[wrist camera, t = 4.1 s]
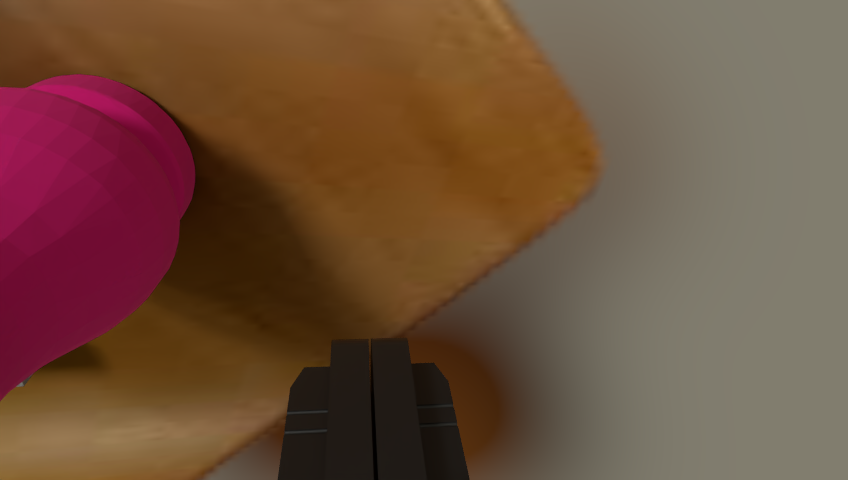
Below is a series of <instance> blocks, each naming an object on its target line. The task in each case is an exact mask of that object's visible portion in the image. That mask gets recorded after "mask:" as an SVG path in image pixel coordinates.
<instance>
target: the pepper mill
mask: <svg viewBox="0 0 848 480" xmlns="http://www.w3.org/2000/svg"><path fill="white" fill-rule="evenodd" d="M194 186H195V165H194V161H193V156H192V153H191V150H190V148H189V146H188V144H187V142H186V140H185V138H184V136H183V134H182V132H181V131H180V129H179V128H178V126H177V125H176V124H175V122H174V121H173V120H172V119H171V118H170V117H169V116H168V115H167V114H166V113H165V112H164V111H163V110H162V109H161V108H160V107H159V106H158V105H157V104H156V103H155V102H153V101H152V100H150V99H149V98H148V97H146V96H144V95H143V94H141V93H140V92H138V91H136V90H135V89H132V88H130V87H128V86H126V85H124V84H122V83H119V82H116V81H113V80H110V79H106V78H102V77H98V76H91V75H82V74H77V75H63V76H56V77H52V78H49V79H46V80H42V81H40V82H38V83H35V84H33V85H31V86H29V87H26V88H11V87H0V401H1V400H2V399H3V398H4V397H5V396H6V394H7V393H8V392H10V391H11V390H12V389H14V388H15V387H16V386H17V385H19V384H20V383H21V382H23V381H24V380H25V379H27V378H28V377H29V376H30V375H32V374H33V373H34V372H36V371H37V370H38V369H40V368H41V367H43V366H44V365H46V364H48V363H49V362H51V361H53V360H55V359H57V358H58V357H60V356H62V355H64V354H66V353H68V352H70V351H72V350H74V349H76V348H78V347H79V346H81V345H83V344H85V343H87V342H89V341H91V340H93V339H95V338H97V337H98V336H100V335H102V334H104V333H106V332H107V331H109V330H110V329H112V328H113V327H115V326H116V325H117V324H118V323H120V322H121V321H122V320H124V319H125V318H126V317H127V316H129V315H130V314H131V313H133V312H134V311H135V310H136V309H137V308H138V307H139V306H140V305H141V304H142V303H143V302H144V301H145V300H146V299H147V298H148V297H149V296H150V294H151V293H152V292H153V290H154V289H155V288H156V286H157V285H158V283H159V282H160V281H161V279H162V278H163V277H164V275H165V274H166V272H167V271H168V270H169V268H170V266H171V263H172V261H173V259H174V256H175V253H176V249H177V245H178V241H179V228H180V219H181V218H182V216H183V215H184V213H185V211H186V210H187V208H188V206H189V204H190V202H191V200H192V196H193V192H194Z"/></svg>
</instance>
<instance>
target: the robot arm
mask: <svg viewBox="0 0 848 480" xmlns="http://www.w3.org/2000/svg"><path fill="white" fill-rule="evenodd" d="M370 367H371V369H370V370H369V345H368V339H349V340H332V345H331V364H330V367H306V368H304V369H303V370H302V372H301V373H300V375H299V376H298V378H297V379H296V380H295V382H294V383H293V385H292V386H291V388H290V395H289V402H288V409H287V416H286V424H285V434H284V438H283V446H282V452H281V460H280V467H279V474H278V480H469V475H468V470H467V466H466V461H465V456H464V452H463V447H462V443H461V438H460V434H459V429H458V426H457V420H456V415H455V410H454V408H453V401H452V397H451V392H450V388H449V383H448V380H447V379H446V378H445V377H444V375H443V374H442V373H441V372H440V370H439V369H438V368H437V366H436V365H435V364H434V363H416V364H411V360H410V353H409V346H408V340H407V338H379V339H371V364H370Z"/></svg>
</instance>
